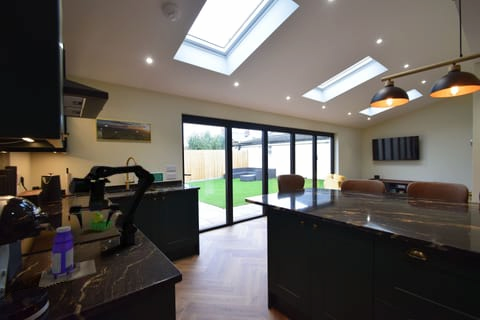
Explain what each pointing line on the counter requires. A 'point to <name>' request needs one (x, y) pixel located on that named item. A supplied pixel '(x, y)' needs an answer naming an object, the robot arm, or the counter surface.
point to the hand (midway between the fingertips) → (94, 227)
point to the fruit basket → (99, 223)
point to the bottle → (62, 251)
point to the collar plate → (77, 272)
